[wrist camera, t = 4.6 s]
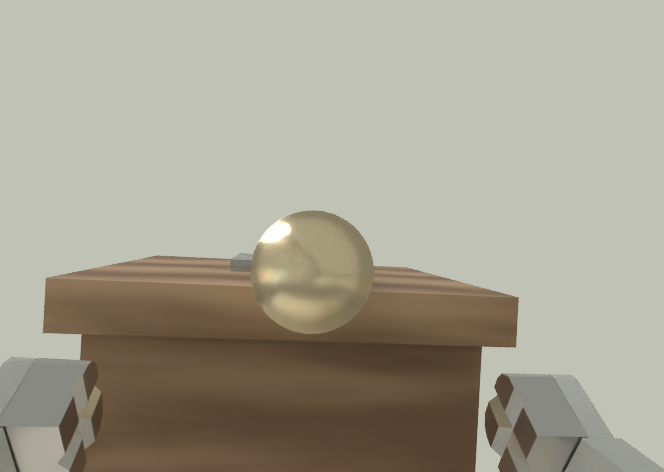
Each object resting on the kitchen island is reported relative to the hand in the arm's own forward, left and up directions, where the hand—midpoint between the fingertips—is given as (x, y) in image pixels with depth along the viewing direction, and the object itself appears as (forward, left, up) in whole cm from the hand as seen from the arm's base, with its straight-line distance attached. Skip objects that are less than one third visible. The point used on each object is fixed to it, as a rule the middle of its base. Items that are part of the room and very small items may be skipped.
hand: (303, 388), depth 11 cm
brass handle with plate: (-6, +11, +1) cm, 12 cm away
